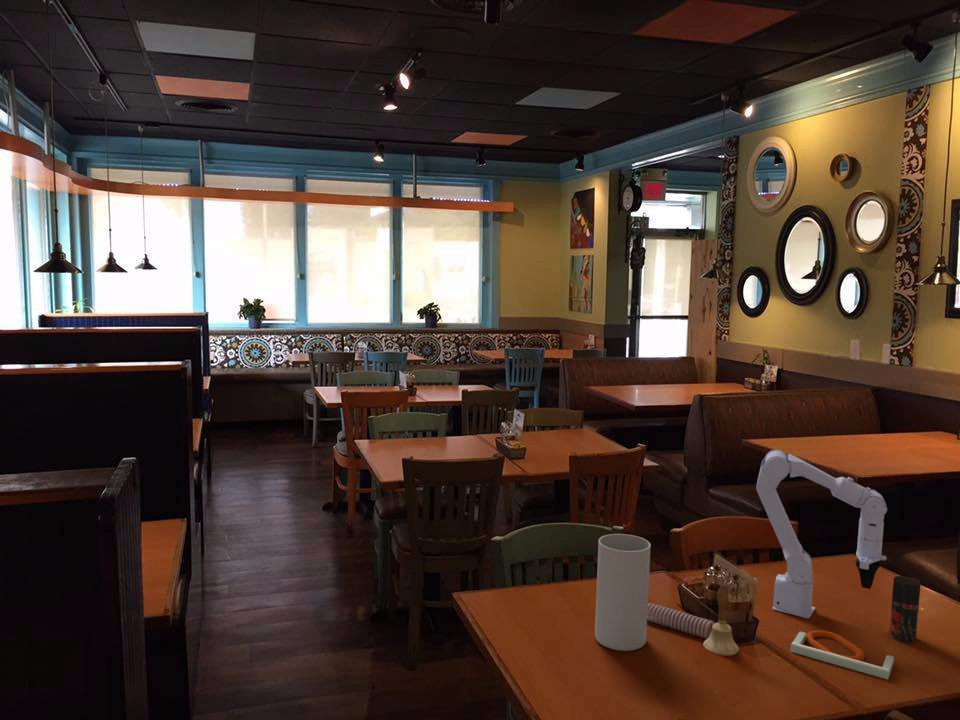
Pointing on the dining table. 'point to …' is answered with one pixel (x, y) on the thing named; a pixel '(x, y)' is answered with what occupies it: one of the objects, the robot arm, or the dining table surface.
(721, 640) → the hand bell
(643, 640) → the cylinder vase
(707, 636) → the coil
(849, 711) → the dining table surface
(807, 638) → the orange oval ring
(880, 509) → the robot arm
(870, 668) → the bar pull handle
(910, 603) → the deodorant
